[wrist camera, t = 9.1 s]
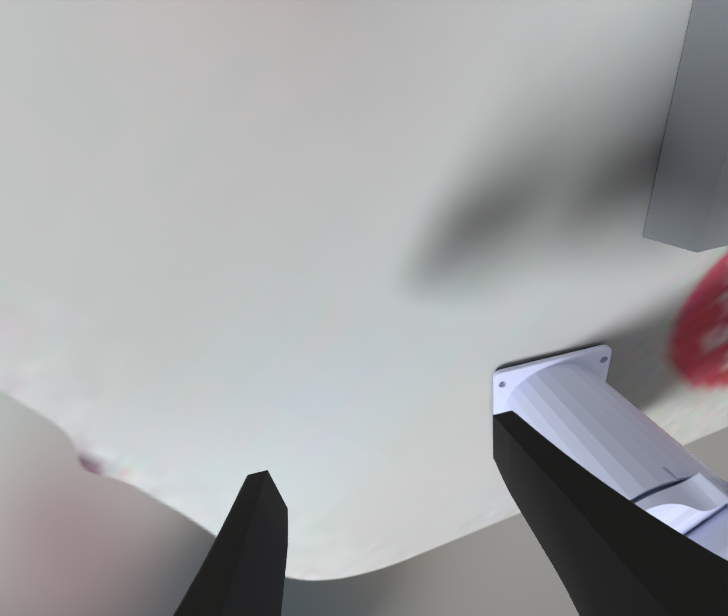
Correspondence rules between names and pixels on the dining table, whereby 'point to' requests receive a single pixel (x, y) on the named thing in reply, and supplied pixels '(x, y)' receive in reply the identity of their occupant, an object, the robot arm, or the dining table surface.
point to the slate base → (696, 140)
